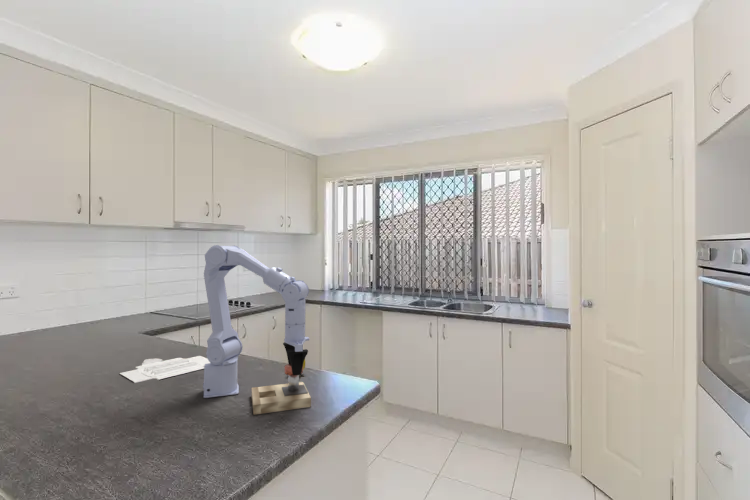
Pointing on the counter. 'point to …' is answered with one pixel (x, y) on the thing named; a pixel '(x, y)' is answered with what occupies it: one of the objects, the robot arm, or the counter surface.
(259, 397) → the board
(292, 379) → the peg
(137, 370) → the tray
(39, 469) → the counter surface
